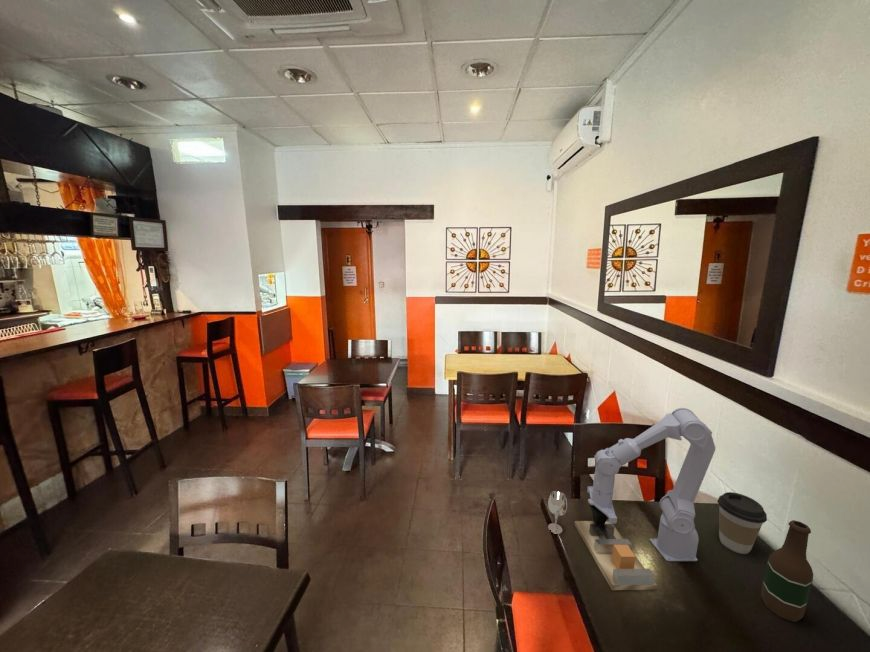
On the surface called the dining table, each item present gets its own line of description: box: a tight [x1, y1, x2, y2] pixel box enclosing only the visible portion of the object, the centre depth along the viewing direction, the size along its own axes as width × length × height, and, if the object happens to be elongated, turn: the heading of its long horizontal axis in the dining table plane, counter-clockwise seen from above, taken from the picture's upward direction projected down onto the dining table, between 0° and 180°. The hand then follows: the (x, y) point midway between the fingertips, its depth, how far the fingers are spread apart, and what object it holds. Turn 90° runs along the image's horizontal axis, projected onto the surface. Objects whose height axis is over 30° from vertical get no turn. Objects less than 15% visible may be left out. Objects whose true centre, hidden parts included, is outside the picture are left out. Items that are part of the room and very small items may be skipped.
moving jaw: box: [589, 523, 633, 553], centre depth 104 cm, size 10×8×3 cm
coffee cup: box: [716, 491, 768, 555], centre depth 105 cm, size 11×11×15 cm
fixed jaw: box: [612, 568, 656, 585], centre depth 91 cm, size 10×2×3 cm, turn 92°
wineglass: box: [547, 490, 568, 535], centre depth 110 cm, size 6×6×12 cm
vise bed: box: [574, 520, 658, 591], centre depth 102 cm, size 12×23×2 cm, turn 2°
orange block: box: [612, 545, 637, 569], centre depth 95 cm, size 4×4×5 cm
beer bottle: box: [760, 519, 814, 623], centre depth 84 cm, size 8×8×24 cm
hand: (598, 526), depth 109 cm, fingers closed
